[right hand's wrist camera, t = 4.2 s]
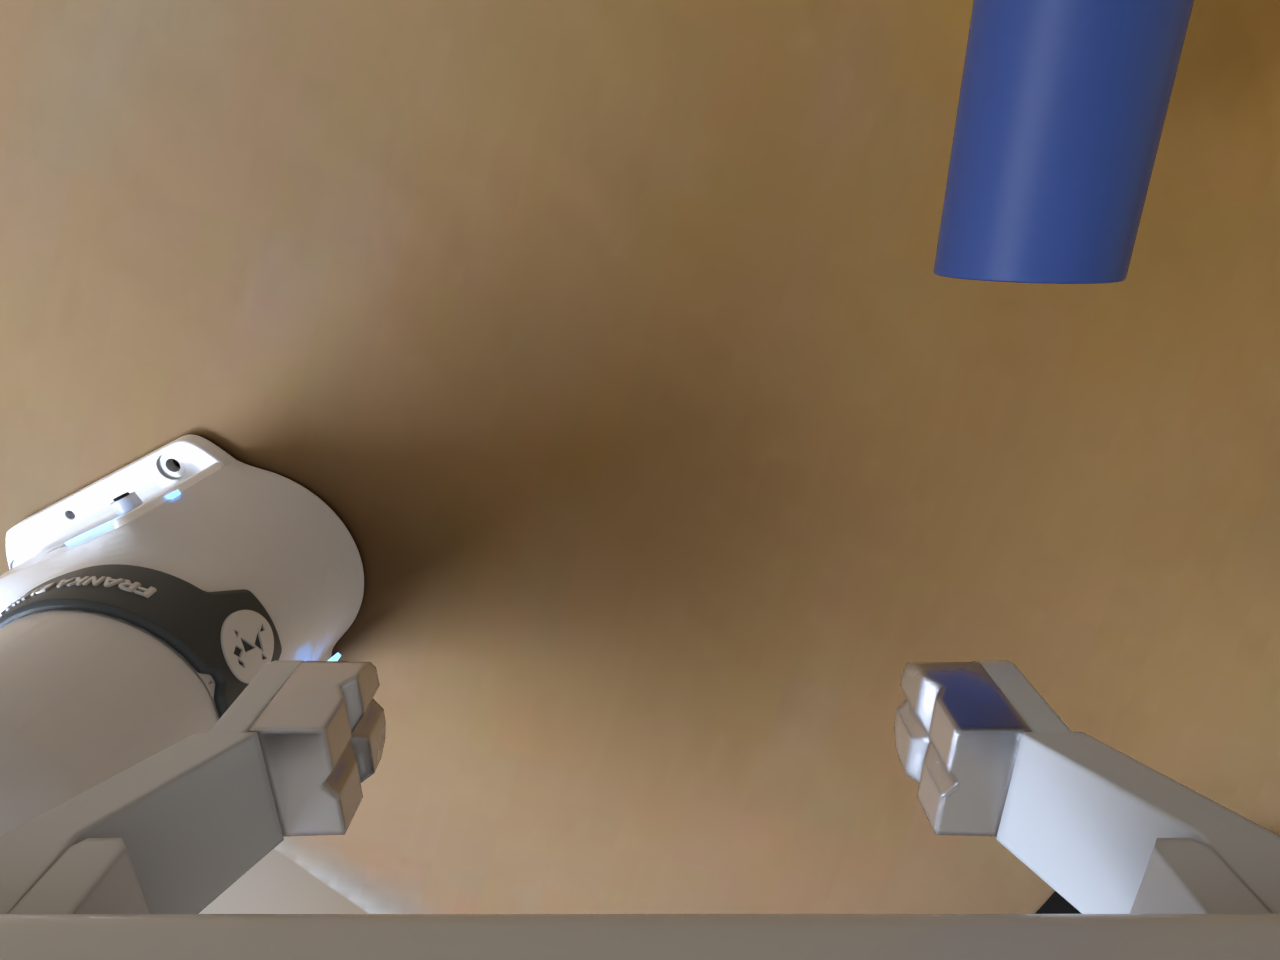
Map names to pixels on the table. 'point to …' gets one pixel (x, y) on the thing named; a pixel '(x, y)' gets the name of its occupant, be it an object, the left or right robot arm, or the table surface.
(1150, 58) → the rod
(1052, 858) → the right robot arm
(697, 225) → the table surface
